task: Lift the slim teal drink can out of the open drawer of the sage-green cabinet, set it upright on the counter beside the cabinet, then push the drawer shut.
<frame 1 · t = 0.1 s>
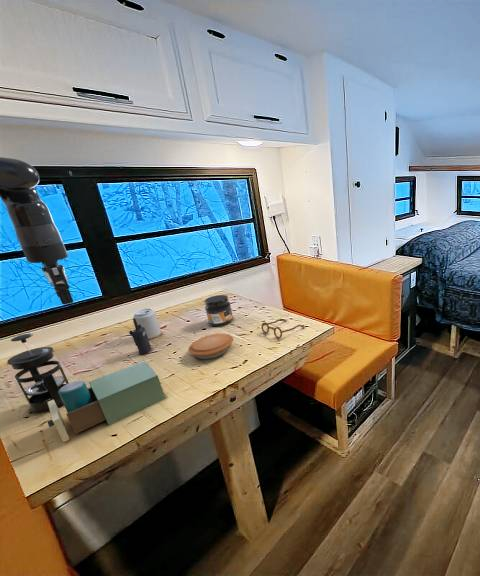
hand: (65, 299, 84), 33 cm above the table, tool pointing down, fingers open, 8 cm apart
glasses: (283, 330, 134), on the table
french press: (55, 403, 93), on the table
can: (151, 336, 132), on the table
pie: (213, 351, 119), on the table
supplement container: (221, 322, 143), on the table
two-way radio: (144, 352, 120), on the table
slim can: (85, 416, 84), point 2 cm above the table, touching drawer
drawer: (83, 409, 84), point 4 cm above the table, slide at 7.5 cm, touching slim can
cabinet: (132, 402, 92), on the table
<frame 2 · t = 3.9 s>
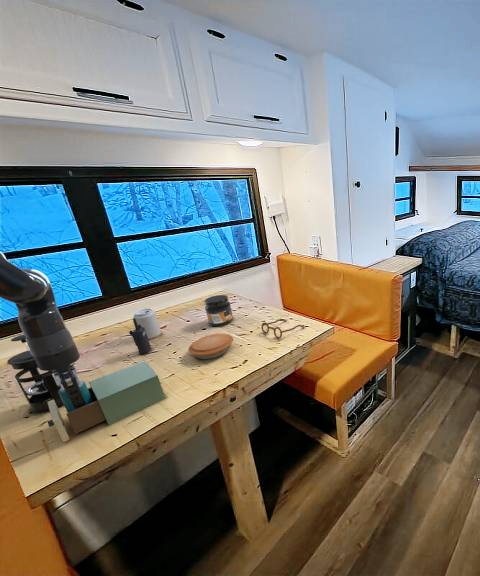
hand: (78, 401, 83), 7 cm above the table, tool pointing down, fingers closed on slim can, 5 cm apart
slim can: (85, 416, 84), point 2 cm above the table, touching drawer, gripper
everything else where it was.
when the fingers open (5 cm above the table, at t = 11.2 s): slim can stays where it is, on the table.
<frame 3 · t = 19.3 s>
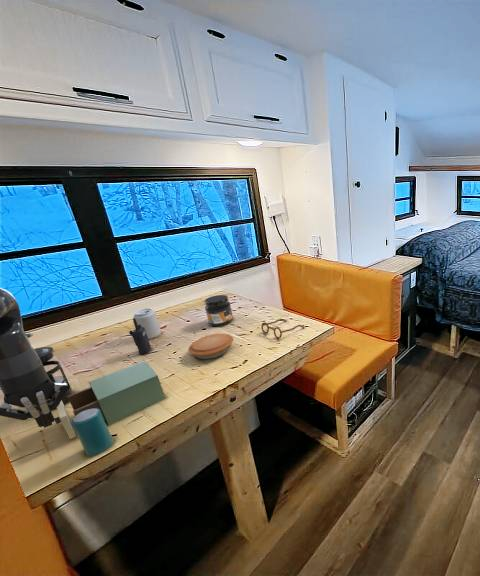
hand: (47, 425, 79), 4 cm above the table, tool pointing down, fingers closed
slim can: (100, 447, 77), on the table
drawer: (89, 406, 85), point 4 cm above the table, slide at 6.2 cm
everything else where it was.
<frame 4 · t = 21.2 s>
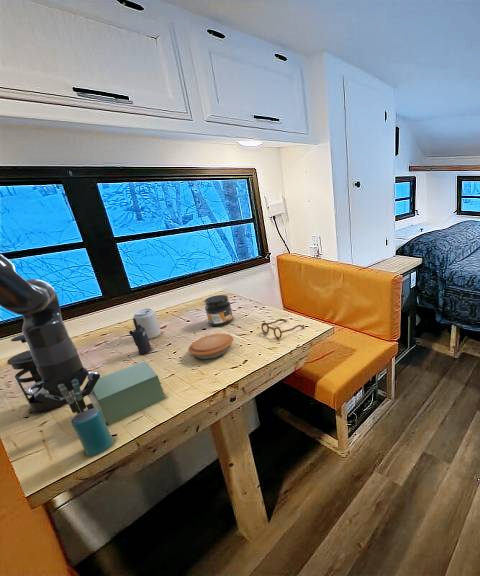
hand: (80, 411, 83), 4 cm above the table, tool pointing down, fingers closed
drawer: (118, 394, 89), point 4 cm above the table, slide at 0.0 cm, touching cabinet, gripper
everything else where it was.
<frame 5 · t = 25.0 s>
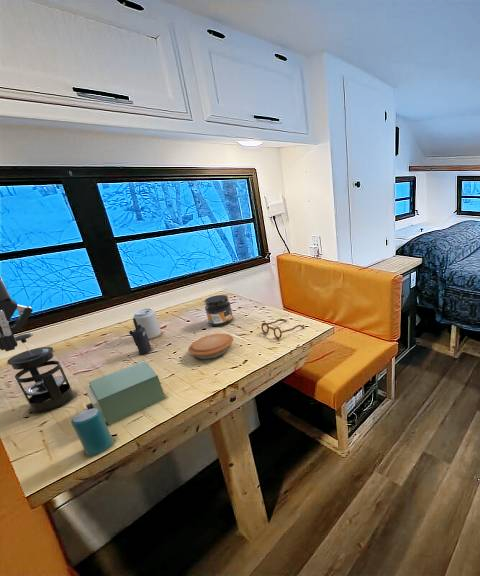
hand: (10, 349, 74), 25 cm above the table, tool pointing down, fingers closed
drawer: (118, 394, 89), point 4 cm above the table, slide at 0.0 cm
everything else where it was.
at the end: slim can 0.1 cm from the target spot, on the table; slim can tilted 0°; drawer slide at 0.0 cm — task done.
